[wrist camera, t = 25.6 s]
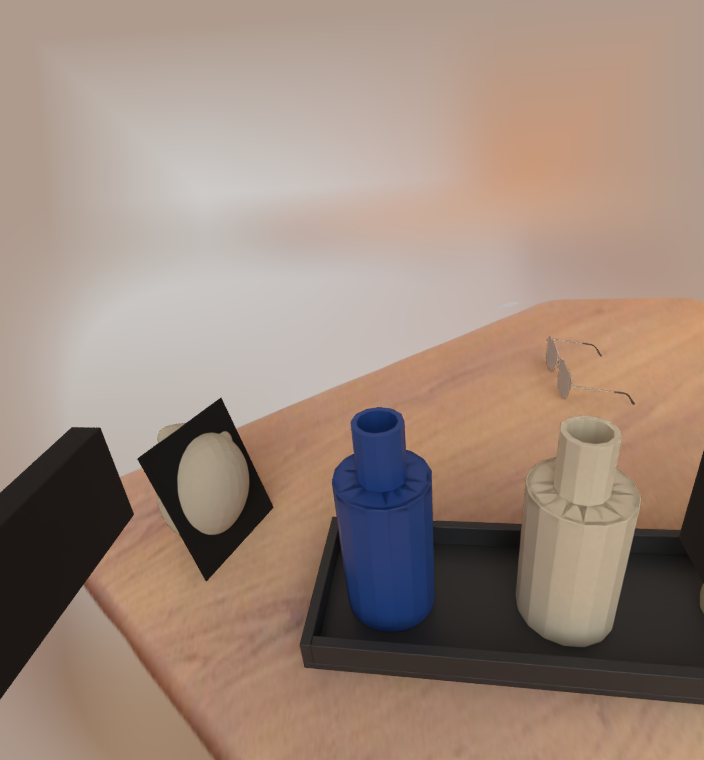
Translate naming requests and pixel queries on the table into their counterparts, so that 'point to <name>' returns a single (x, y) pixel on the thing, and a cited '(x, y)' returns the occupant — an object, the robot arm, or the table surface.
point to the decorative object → (206, 485)
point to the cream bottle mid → (576, 535)
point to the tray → (521, 622)
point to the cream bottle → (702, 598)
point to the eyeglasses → (565, 369)
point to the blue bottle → (385, 524)
